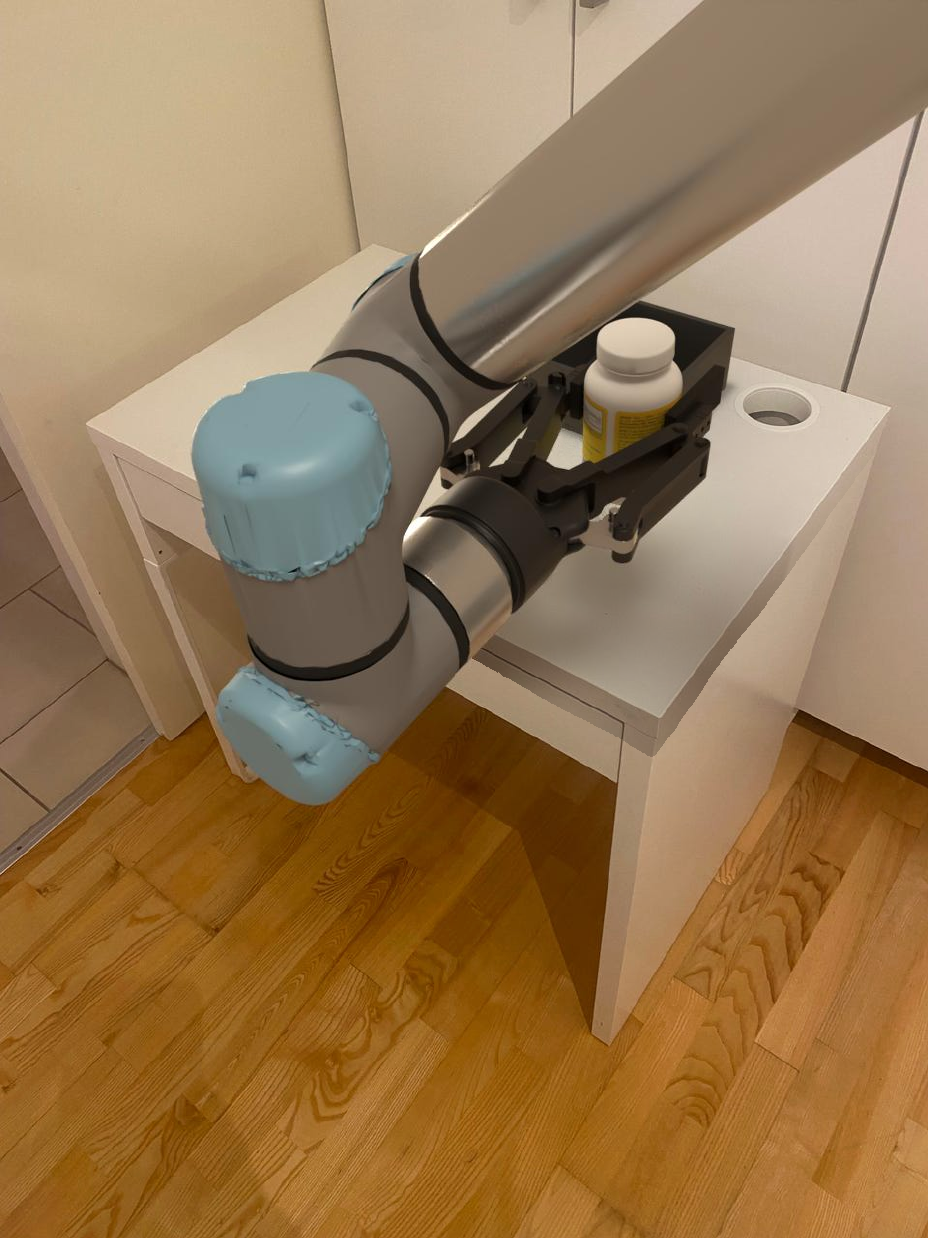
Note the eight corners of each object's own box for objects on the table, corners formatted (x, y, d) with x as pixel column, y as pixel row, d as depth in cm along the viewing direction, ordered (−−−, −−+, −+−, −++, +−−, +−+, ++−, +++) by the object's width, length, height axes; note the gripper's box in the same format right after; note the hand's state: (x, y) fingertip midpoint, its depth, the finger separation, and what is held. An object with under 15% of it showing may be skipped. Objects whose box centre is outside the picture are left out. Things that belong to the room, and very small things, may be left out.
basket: (726, 387, 94) (735, 327, 90) (653, 461, 87) (659, 401, 82) (602, 347, 101) (605, 289, 96) (525, 413, 94) (524, 354, 89)
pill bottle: (686, 468, 66) (705, 323, 58) (648, 520, 63) (663, 373, 55) (606, 443, 69) (613, 301, 61) (565, 492, 65) (567, 348, 57)
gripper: (345, 553, 59) (551, 376, 71) (611, 688, 51) (796, 460, 63) (323, 456, 54) (551, 282, 66) (618, 587, 45) (819, 359, 57)
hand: (670, 369), depth 64 cm, fingers closed on pill bottle, 6 cm apart
